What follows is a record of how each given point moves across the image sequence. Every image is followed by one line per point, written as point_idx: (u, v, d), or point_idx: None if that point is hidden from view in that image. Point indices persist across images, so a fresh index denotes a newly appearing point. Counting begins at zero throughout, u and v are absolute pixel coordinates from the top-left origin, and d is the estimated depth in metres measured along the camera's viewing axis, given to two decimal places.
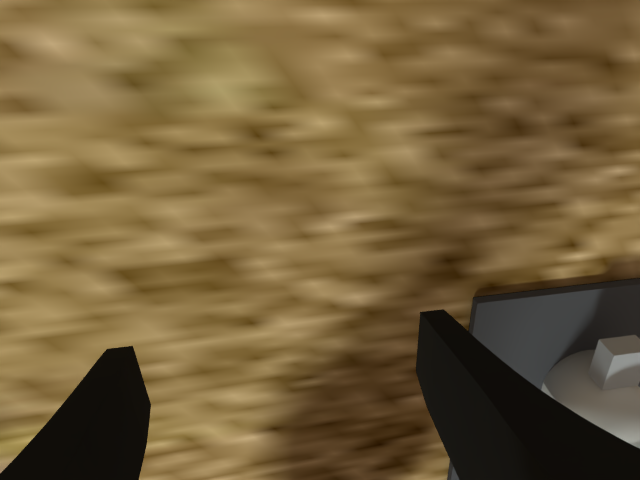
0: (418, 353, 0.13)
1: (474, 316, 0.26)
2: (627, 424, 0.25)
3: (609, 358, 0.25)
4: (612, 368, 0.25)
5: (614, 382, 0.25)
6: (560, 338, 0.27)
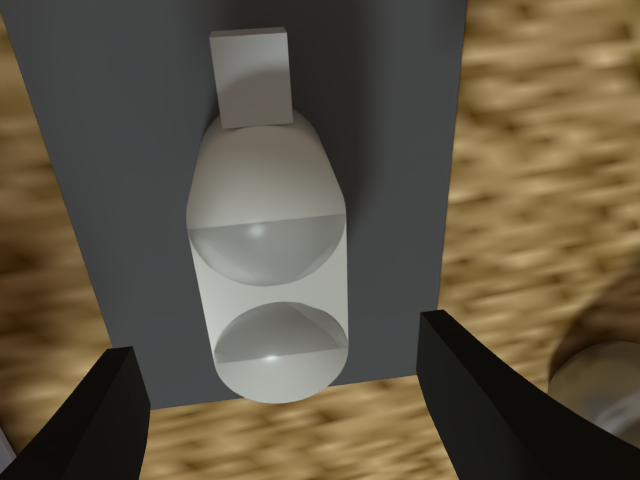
0: (418, 353, 0.13)
1: None
2: (241, 171, 0.13)
3: None
4: (221, 73, 0.13)
5: (241, 109, 0.14)
6: (194, 69, 0.16)
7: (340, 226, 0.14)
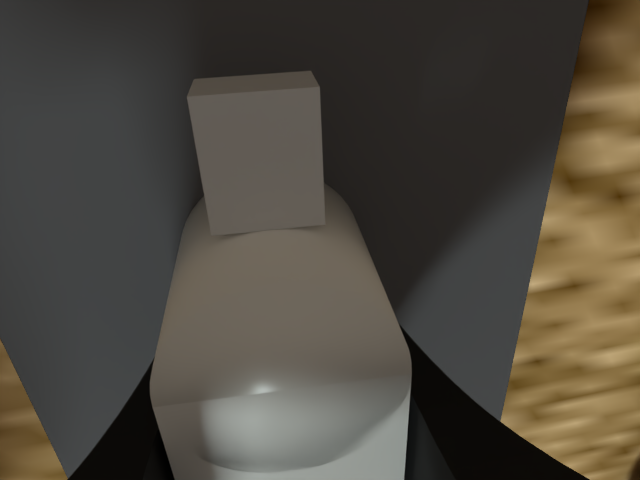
0: None
1: None
2: (242, 324, 0.08)
3: None
4: (209, 152, 0.08)
5: (241, 207, 0.08)
6: (171, 127, 0.10)
7: (401, 391, 0.09)
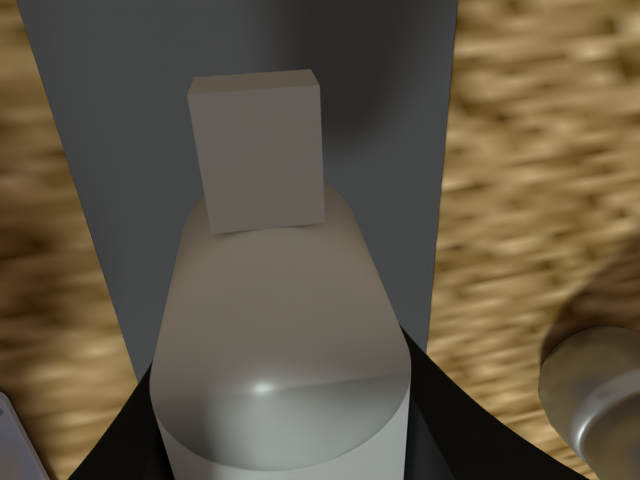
0: None
1: None
2: (242, 321, 0.08)
3: None
4: (209, 150, 0.08)
5: (241, 204, 0.08)
6: (199, 61, 0.17)
7: (400, 389, 0.09)
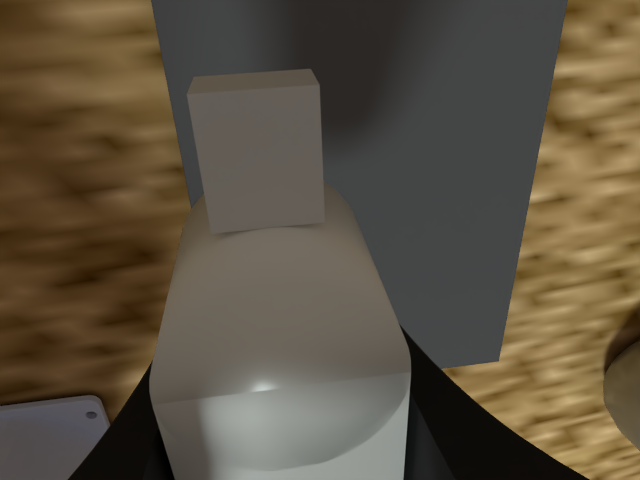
0: None
1: (156, 21, 0.16)
2: (242, 321, 0.08)
3: None
4: (208, 150, 0.08)
5: (241, 204, 0.08)
6: None
7: (400, 389, 0.09)
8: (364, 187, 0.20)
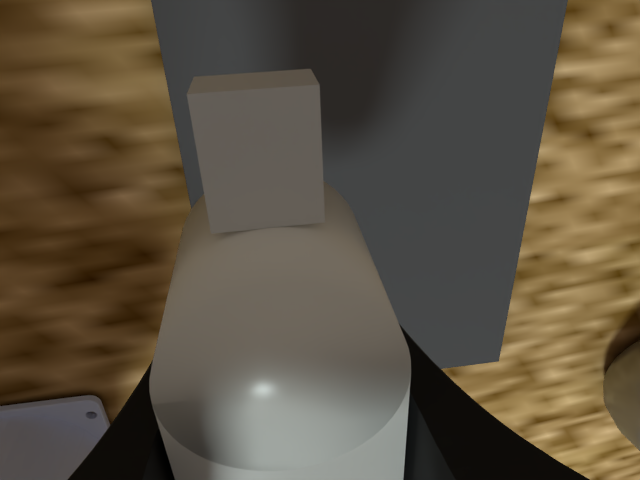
0: None
1: (156, 21, 0.16)
2: (242, 321, 0.08)
3: None
4: (208, 150, 0.08)
5: (241, 204, 0.08)
6: None
7: (400, 389, 0.09)
8: (364, 187, 0.20)
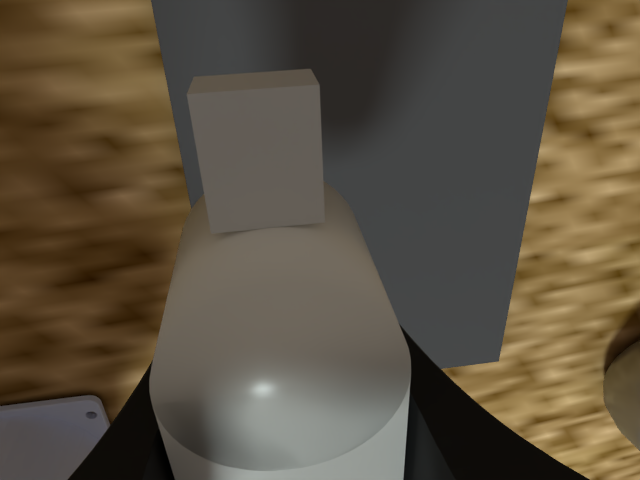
0: None
1: (156, 21, 0.16)
2: (242, 321, 0.08)
3: None
4: (208, 150, 0.08)
5: (241, 204, 0.08)
6: None
7: (400, 389, 0.09)
8: (364, 187, 0.20)
